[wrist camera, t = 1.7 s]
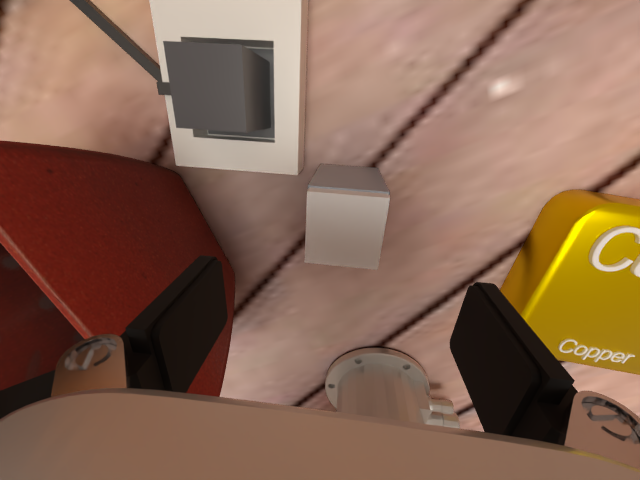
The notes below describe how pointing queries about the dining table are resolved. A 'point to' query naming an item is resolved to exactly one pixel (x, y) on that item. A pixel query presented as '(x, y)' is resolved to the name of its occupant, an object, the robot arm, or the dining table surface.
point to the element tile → (582, 279)
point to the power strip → (286, 77)
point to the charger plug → (346, 216)
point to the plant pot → (92, 253)
